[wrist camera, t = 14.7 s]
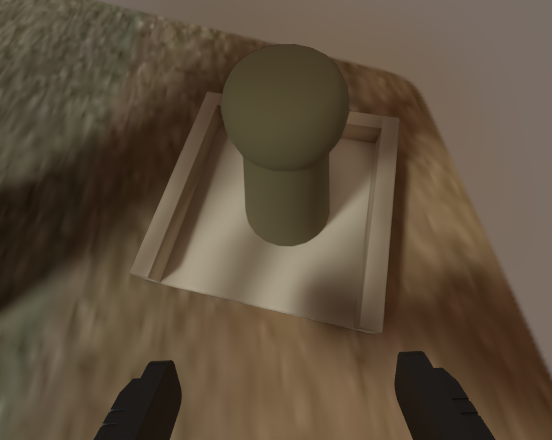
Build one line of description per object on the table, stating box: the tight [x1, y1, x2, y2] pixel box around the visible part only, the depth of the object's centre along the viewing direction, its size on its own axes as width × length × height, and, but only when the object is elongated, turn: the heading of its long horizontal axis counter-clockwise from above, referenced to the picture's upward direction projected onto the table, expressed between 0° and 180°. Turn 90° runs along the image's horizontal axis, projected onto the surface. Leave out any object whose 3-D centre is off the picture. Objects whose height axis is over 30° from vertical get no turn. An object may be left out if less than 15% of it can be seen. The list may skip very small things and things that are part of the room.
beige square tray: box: [130, 92, 400, 334], centre depth 20 cm, size 15×15×2 cm
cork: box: [221, 44, 349, 247], centre depth 15 cm, size 6×6×11 cm
